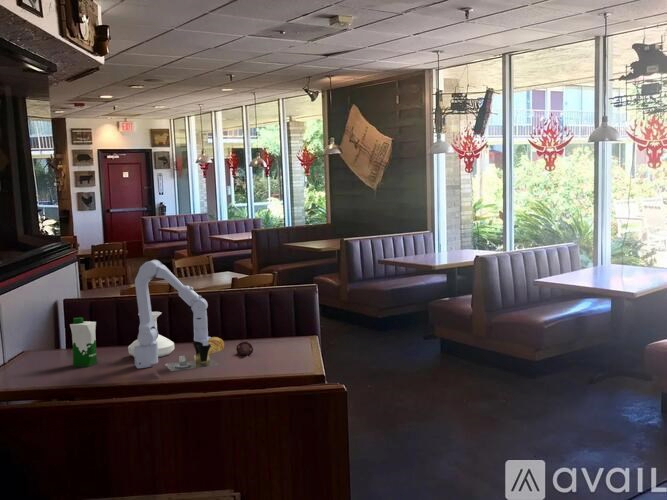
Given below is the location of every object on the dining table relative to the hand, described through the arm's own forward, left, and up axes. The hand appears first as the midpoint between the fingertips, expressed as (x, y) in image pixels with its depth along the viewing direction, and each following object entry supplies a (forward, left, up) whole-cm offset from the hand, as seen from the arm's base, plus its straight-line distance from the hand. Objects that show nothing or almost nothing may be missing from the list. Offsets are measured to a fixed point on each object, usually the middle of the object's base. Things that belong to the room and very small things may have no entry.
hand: (202, 359), depth 285 cm
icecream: (+20, +4, -2) cm, 20 cm away
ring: (0, 0, -1) cm, 1 cm away
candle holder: (-16, +27, -2) cm, 31 cm away
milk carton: (-44, +26, -2) cm, 51 cm away
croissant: (+10, +21, -2) cm, 24 cm away
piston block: (-5, -3, -2) cm, 6 cm away
